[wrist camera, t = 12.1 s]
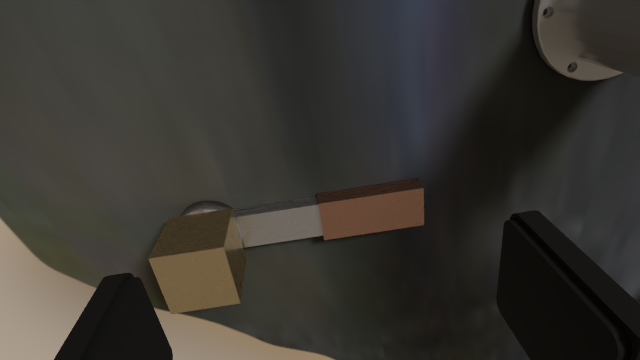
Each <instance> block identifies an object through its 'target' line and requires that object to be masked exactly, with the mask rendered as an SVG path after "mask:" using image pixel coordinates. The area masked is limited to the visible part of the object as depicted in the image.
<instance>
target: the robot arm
mask: <svg viewBox="0 0 640 360" xmlns="http://www.w3.org/2000/svg"><path fill="white" fill-rule="evenodd" d="M543 11H544V13H543ZM532 32H533V37H534V41H535V45H536V47H537V50H538V52H539V54H540V56H541V57H542V59H543V60H544V61H545V62H546V64H547V65H548V66H549V67H551V68H552V69H553V70H555V71H556V72H557V73H560V74H562V75H565V76H567V77H570V78H573V79H577V80H583V81H596V80H603V79H608V78H611V77H614V76H617V75H620V74H622V73H627V74H631V75H634V76H638V77H640V0H535V1H534V7H533V14H532ZM497 305H498V308H499V311H500V313H501V315H502V316H503V318H504V319H505V321H506V322H507V324H508V325H509V327H510V329H511V330H512V332H513V333H514V335H515V336H516V338H517V339H518V341H519V343H520V344H521V346H522V347H523V349H524V350H525V352H526V354H527V355H528V357H529V358H530V360H640V304H639V303H638V302H637V301H636V300H635V299H633V298H632V297H631V296H630V295H629V294H628V293H627V292H626V291H625V290H624V289H623V288H622V287H620V286H619V285H618V284H617V283H616V282H615V281H614V280H613V279H612V278H611V277H610V276H609V275H607V274H606V273H605V272H604V271H603V270H602V269H601V268H600V267H599V266H598V265H597V264H596V263H594V262H593V261H592V260H591V259H590V258H589V257H588V256H587V255H586V254H585V253H584V252H582V251H581V250H580V249H579V248H578V247H577V246H576V245H575V244H574V243H573V242H572V241H571V240H569V239H568V238H567V237H566V236H565V235H564V234H563V233H562V232H561V231H560V230H559V229H558V228H556V227H555V226H554V225H553V224H552V223H551V222H550V221H549V220H548V219H547V218H546V217H545V216H543V215H542V214H541V213H540V212H539V211H535V210H534V211H527V212H521V213H514V214H512V215H511V217H510V220H507V221H505V223H504V229H503V239H502V249H501V259H500V269H499V279H498V289H497ZM54 360H173V355H172V349H171V347H170V345H169V342H168V340H167V338H166V335H165V333H164V331H163V329H162V326H161V324H160V322H159V319H158V317H157V315H156V313H155V310H154V308H153V306H152V303H151V301H150V299H149V297H148V294H147V292H146V290H145V287H144V285H143V283H142V281H141V279H140V278H138V277H135V278H134V276H133V275H132V274H131V273H123V274H117V275H110V276H106V277H104V278H103V279H102V281H101V282H100V284H99V286H98V287H97V289H96V291H95V292H94V294H93V296H92V297H91V299H90V301H89V302H88V304H87V306H86V307H85V309H84V311H83V312H82V314H81V316H80V317H79V319H78V321H77V322H76V324H75V325H74V327H73V329H72V331H71V332H70V334H69V335H68V337H67V339H66V340H65V342H64V344H63V345H62V347H61V349H60V350H59V352H58V354H57V355H56V357H55V359H54Z"/></svg>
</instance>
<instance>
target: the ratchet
mask: <svg viewBox="0 0 640 360" xmlns="http://www.w3.org/2000/svg"><path fill="white" fill-rule="evenodd" d="M230 208H231V207H230V206H228V205H226V204H224V203H221V202H217V201H201V202H197V203H194V204H192V205H190V206H189V207H187V208H186V209H185V210H184V211H183V213H182V214H181V216H185V215H191V214H198V213H204V212H211V211H217V210H224V209H230ZM233 212H234V216H235V219H236V223H237V227H238V230H239V234H240V238H241V241H242V245H243V248H245V247H251V246H258V245H264V244H271V243H278V242H284V241H291V240H297V239H304V238H310V237H317V236H324V240H329V239H336V238H342V237H349V236H355V235H362V234H368V233H375V232H381V231H388V230H394V229H401V228H407V227H414V226H421V225H424V188H423V186H422V185H421V183H420V181H419V180H418V178H417V179H410V180H404V181H397V182H391V183H384V184H377V185H371V186H364V187H358V188H351V189H345V190H338V191H331V192H325V193H318V194H317V196H316V197H310V198H303V199H297V200H290V201H283V202H277V203H270V204H264V205H257V206H251V207H244V208H237V209H233Z"/></svg>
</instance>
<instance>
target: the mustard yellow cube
mask: <svg viewBox="0 0 640 360" xmlns="http://www.w3.org/2000/svg"><path fill="white" fill-rule="evenodd" d="M148 259H149V262H150V264H151V267H152V269H153V272H154V274H155V276H156V279H157V281H158V284H159V286H160V288H161V291H162V293H163V296H164V298H165V300H166V303H167V305H168V308H169V310H170V313H171V314H174V313H181V312H187V311H194V310H200V309H207V308H213V307H219V306H226V305H232V304H239V303H241V295H242V288H243V281H244V273H245V266H246V256H245V252H244V249H243V245H242V241H241V238H240V234H239V230H238V227H237V223H236V219H235V216H234V212H233V208H230V209H224V210H217V211H211V212H204V213H198V214H191V215H185V216H178V217H172V218H168V219H167V221H166V223H165V225H164V227H163V230H162V232H161V234H160V236H159V238H158V240H157V242H156V244H155V246H154V248H153V250H152V252H151V254H150V256H149V258H148Z"/></svg>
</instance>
